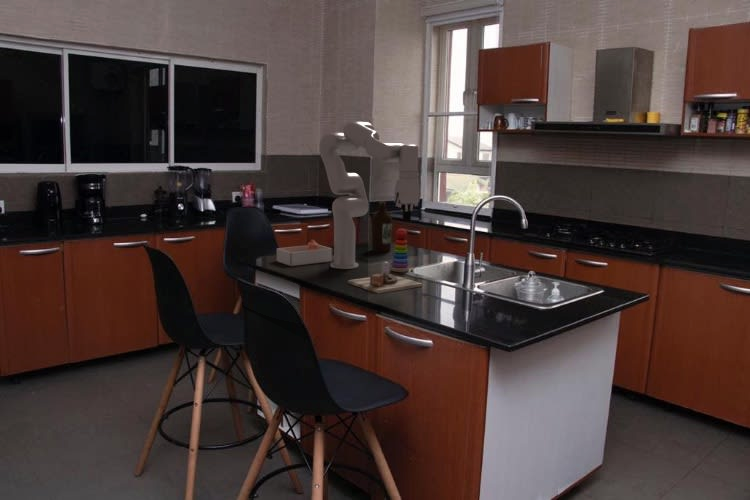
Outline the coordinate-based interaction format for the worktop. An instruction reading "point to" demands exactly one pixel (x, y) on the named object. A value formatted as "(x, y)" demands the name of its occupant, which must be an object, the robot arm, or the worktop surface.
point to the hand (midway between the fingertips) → (406, 220)
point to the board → (399, 285)
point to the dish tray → (303, 255)
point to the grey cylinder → (383, 272)
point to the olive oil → (381, 229)
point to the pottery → (312, 245)
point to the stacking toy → (400, 253)
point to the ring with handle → (378, 280)
